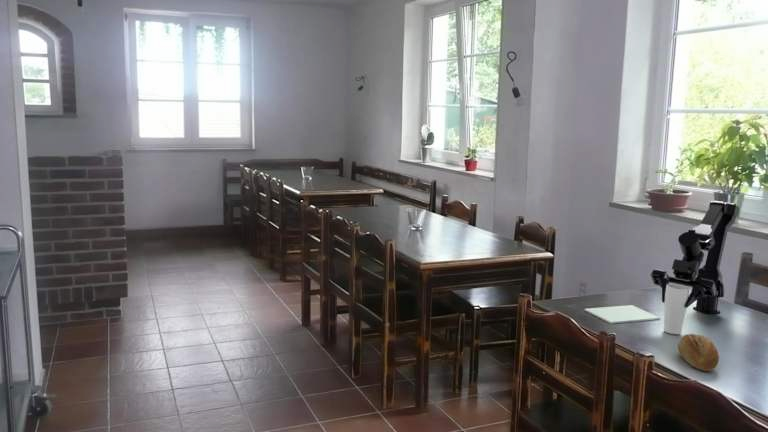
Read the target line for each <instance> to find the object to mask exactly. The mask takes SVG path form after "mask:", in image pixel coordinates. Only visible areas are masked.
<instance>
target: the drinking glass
mask: <svg viewBox="0 0 768 432" xmlns="http://www.w3.org/2000/svg"><path fill="white" fill-rule="evenodd" d="M689 295H690V287H689V286H685V285H681V284H675V283H669V284H667V285H666V290H665V302H664V307H663V308H664V313H663V314H664V315H663V317H664V318H663V331H664V332H665V333H666V334H670V335H680V334H682V332H683V328H684V327H683V326H684V321H685V316H686V312H687V308H685V304H686V301H687V299H688V297H689Z"/></svg>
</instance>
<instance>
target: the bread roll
mask: <svg viewBox="0 0 768 432" xmlns="http://www.w3.org/2000/svg"><path fill="white" fill-rule="evenodd" d="M677 350H678V353H679V355H680V356H681V357H682V358H683V359H684V360H685V362H687V363H688V364H689V365H690V366H692V367H694V368H696V369H697V370H700V371H704V372H712V371H713V370H715V368H716V367H717V366H718V364H719V361H720V355H719V351H718V348H717V346H716V345H715V343H714V341H712V339H710V337H707V336H704V335H700V334H695V333H689V334H687V333H686V334H684V335H683V336H682V337H681V338H680V339H679V341H678V343H677Z"/></svg>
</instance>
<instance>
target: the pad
mask: <svg viewBox="0 0 768 432" xmlns="http://www.w3.org/2000/svg"><path fill="white" fill-rule="evenodd" d="M583 311H585V312H587V314H588V313H589V314H591V315H593V316H595V317H596V318H598V319H600V320H603V321H604V322H606V323H608V324H610V325H613V324H614V325H615V324H623V323H624V324H625V323H636V322H646V321H657V320H659V321H660V320H661V317H660V316H658V315H655V314H653V313H651V312H650V311H649V312H648V311H646V310H643V309H642V308H639V307H637V306H635V305H633V304H630V305H617V306H616V305H615V306H614V305H613V306H603V307H591V308H590V307H589V308H584V310H583Z"/></svg>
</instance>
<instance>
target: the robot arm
mask: <svg viewBox="0 0 768 432" xmlns="http://www.w3.org/2000/svg"><path fill="white" fill-rule="evenodd" d="M708 206H709V207H708V209H707V211H706V213H705V215H704V216H703V218H702V219H701V221H700V223H699V225H697V226H694V227H692V228H691V229H690V228H689V229H688V231H687V232H686V231H685V232H683V233H681V234H680V235H679V236H678V239H677V240H678V243H679V247H680V250H681V251H680V252H681V253H682V254H683V256H682V258H681V259H677V258H676V259H674V260H673V262H672V265H671V270H673V271H672V274H673V276H671V275H669V274H667V271H666V270H664V269H663V270H662V269H658V268H655V269H653V270H652V271H651V273H650V277H651V279H652V282H653V284H654V285H655V286H659V287H660V288H661V302H662V304H665V290H666V285H667V284H681V285H685V286H687V287H689V288H692V289H691V292H689V297H688V299H687V301H686V304H685V308H686V309H687V308H689V307H690V306H691V305H692V304H694V303H695V302H696V303H695V306H693V307H692V309H694V310H696V311H698V312H700V313H703V314H706V315H709V314H710V315H711V314H720V313H721V310H718V305H719V298H724V296H725V286H724V285H725V284H724V281H723V275H722V272H721V270H720V266H721V261H722V257H723V254H724V248H725V244H726V239H727V235H728V231H729V228H731V226H733V225H734V224H735V222H736V219H737V217H738V216H739V213H740V206H737V204H736V203H734V202H725V201H721V200H711V201H710V202H709V205H708ZM703 251H704V252H705V251H707V255H706V260H705V264H704V265H703V266H702V267H701V265H702V264H703V262H704V257H705V254H704V252H703Z"/></svg>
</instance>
